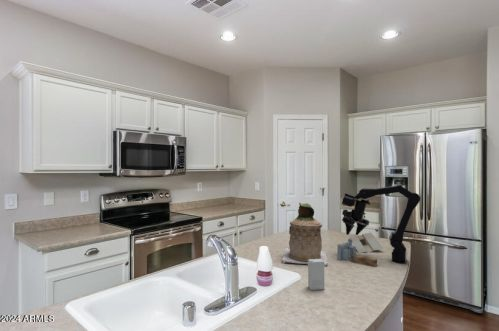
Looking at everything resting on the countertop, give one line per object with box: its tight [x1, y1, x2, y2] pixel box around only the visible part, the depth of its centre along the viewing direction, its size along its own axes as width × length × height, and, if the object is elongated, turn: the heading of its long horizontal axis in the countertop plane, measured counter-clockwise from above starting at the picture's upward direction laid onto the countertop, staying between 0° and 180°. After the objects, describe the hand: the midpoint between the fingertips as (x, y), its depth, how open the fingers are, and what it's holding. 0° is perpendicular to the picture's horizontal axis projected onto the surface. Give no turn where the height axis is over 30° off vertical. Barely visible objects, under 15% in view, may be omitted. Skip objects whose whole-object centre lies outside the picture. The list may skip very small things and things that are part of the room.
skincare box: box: [307, 259, 325, 291], centre depth 129 cm, size 6×4×12 cm
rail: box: [350, 254, 378, 268], centre depth 162 cm, size 13×4×4 cm, turn 51°
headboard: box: [336, 237, 357, 261], centre depth 174 cm, size 5×18×9 cm, turn 141°
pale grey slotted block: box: [348, 232, 384, 254], centre depth 191 cm, size 16×9×15 cm
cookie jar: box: [281, 202, 329, 267], centre depth 171 cm, size 25×25×32 cm
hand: (351, 234), depth 175 cm, fingers open, 9 cm apart
